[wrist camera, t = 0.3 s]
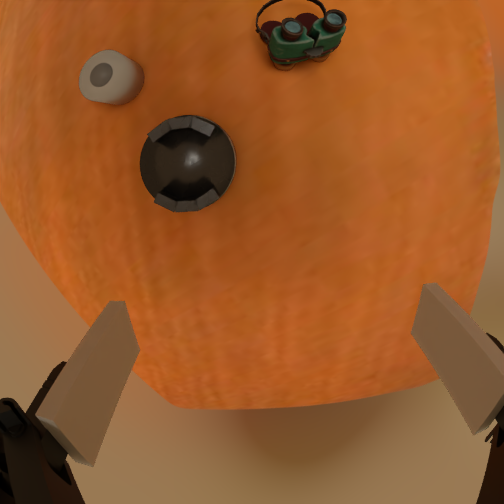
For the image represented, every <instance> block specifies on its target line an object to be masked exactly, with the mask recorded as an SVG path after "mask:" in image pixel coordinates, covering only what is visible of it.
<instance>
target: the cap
mask: <svg viewBox="0 0 504 504" xmlns="http://www.w3.org/2000/svg"><path fill="white" fill-rule="evenodd" d="M143 83H144V73H143V70H142V68H141V66H140V65H139V64H138V63H136V62H134V61H133V60H131V59H129V58H127V57H126V56H124V55H122V54H120V53H119V52H117V51H114V50H104V51H100V52H98V53H96V54H95V55H93V56H92V57H91V58H90V59H89V60H88V61H87V62H86V63H85V65H84V66H83V68H82V70H81V73H80V77H79V88H80V91H81V93H82V94H83V96H84V97H85V98H87V99H89V100H91V101H97V102H103V103H109V104H114V105H122V104H126V103H128V102H130V101H131V100H133V99H134V98H135V97H136V96H137V95H138V94H139V92H140V90H141V89H142V86H143Z"/></svg>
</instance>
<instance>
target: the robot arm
mask: <svg viewBox="0 0 504 504" xmlns="http://www.w3.org/2000/svg"><path fill="white" fill-rule="evenodd" d="M411 334H412V336H413V337H414V339H415V340H416V342H417V343H418V345H419V346H420V348H421V349H422V351H423V352H424V354H425V355H426V357H427V358H428V360H429V361H430V363H431V364H432V366H433V368H434V369H435V371H436V372H437V374H438V375H439V377H440V379H441V380H442V382H443V383H444V385H445V387H446V388H447V390H448V392H449V393H450V395H451V397H452V398H453V400H454V402H455V403H456V405H457V407H458V409H459V410H460V412H461V414H462V416H463V417H464V419H465V421H466V423H467V424H468V426H469V428H470V430H471V432H472V434H473V435H475V434H477V433H479V432H481V431H483V430H485V429H487V428H488V427H489V425H490V424H491V423H492V421H493V420H494V419H496V421H497V422H498V423H497V425H496V426H495V427H494V428H493V430H492V431H491V432H490V433H489V435H488V436H487V437H486V439H485V442H487V441H488V440H489V439H490V438H491V436H492V435H493V439H492V440H491V441H490V443H492V444H491V449H490V455H489V459H488V463H487V468H486V472H485V476H484V479H483V483H482V487H481V490H480V493H479V497H478V500H477V503H476V504H504V347H503V345H502V344H501V343H500V342H499V341H498V340H497V339H496V338H495V337H493V336H492V335H490V334H488V333H485V332H484V331H483V330H482V329H481V328H480V327H479V325H478V324H477V323H476V322H475V321H474V320H473V319H472V318H471V317H470V316H469V315H468V314H467V313H466V312H465V311H464V310H463V309H462V308H461V307H460V306H459V305H458V304H457V303H456V302H455V301H454V300H453V299H452V298H451V297H450V296H449V295H448V294H447V293H446V292H445V291H444V290H443V289H442V288H441V287H440V286H439V285H438V284H437V283H429V284H423V288H422V292H421V296H420V301H419V305H418V309H417V313H416V316H415V320H414V324H413V327H412V331H411ZM139 352H140V348H139V345H138V342H137V339H136V336H135V333H134V330H133V327H132V324H131V321H130V318H129V314H128V311H127V308H126V304H125V301H109V303H108V304H107V305H106V307H105V308H104V310H103V311H102V312H101V314H100V315H99V316H98V318H97V319H96V321H95V322H94V323H93V325H92V326H91V328H90V329H89V331H88V332H87V333H86V335H85V336H84V338H83V339H82V341H81V342H80V344H79V345H78V347H77V348H76V350H75V351H74V353H73V354H72V356H71V357H70V359H69V360H68V362H64V361H63V362H61V363H60V364H59V365H58V366H56V367H55V368H54V369H53V370H52V372H51V373H50V375H49V376H48V378H47V380H46V381H45V382H44V384H43V385H42V388H41V389H40V390H39V392H38V393H37V395H36V397H35V398H34V400H33V402H32V403H31V405H30V406H29V408H28V410H27V411H26V413H24V411H23V410H22V409H21V407H20V406H19V405H18V403H17V402H16V401H15V400H14V399H12V398H2V399H1V400H0V504H85V502H84V500H83V498H82V495H81V493H80V491H79V489H78V487H77V484H76V481H75V479H74V477H73V474H72V472H71V469H70V466H69V464H68V463H67V461H66V460H65V459H66V457H67V454H69V455H70V456H71V457H72V458H73V459H74V460H75V461H76V462H78V463H81V464H85V465H88V466H91V467H93V466H94V464H95V461H96V458H97V455H98V452H99V450H100V447H101V444H102V442H103V439H104V436H105V433H106V431H107V428H108V426H109V423H110V421H111V418H112V416H113V413H114V411H115V408H116V406H117V403H118V401H119V398H120V396H121V393H122V391H123V388H124V386H125V384H126V381H127V379H128V377H129V374H130V372H131V370H132V367H133V365H134V363H135V361H136V358H137V356H138V354H139Z"/></svg>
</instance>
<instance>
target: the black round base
mask: <svg viewBox="0 0 504 504" xmlns="http://www.w3.org/2000/svg"><path fill="white" fill-rule="evenodd" d="M147 135H148V136H149V137H148V138H147V140H146V142H145V144H144V146H143V149H142V152H141V156H140V171H141V176H142V179H143V182H144V184H145V186H146V188H147V190H148V191H149V193H150V194H151V195H152V196H153V197H154V198H155V200H154V203H156V204H158V205H160V206H162V207H165V208H167V209H169V210H171V211H173V212H174V211H175V212H188V211H198V210H201V209H202V208H204V207H207V206H209V205H211V204H212V203H214V202H215V201H217V200H218V199H219V198H220V197H221V196H222V195H223V194H224V193H225V192H226V191H227V189H228V187H229V186H230V184H231V182H232V180H233V177H234V174H235V169H236V151H235V148H234V145H233V142H232V140H231V139H230V137H229V135H228V134H227V133H226V132H225V131H224V130H223V129H222V128H221V127H220V126H219V125H217V124H216V123H215V122H213V121H211V120H209V119H207V118H204V117H200V116H195V115H183V116H178V117H175V118H172V119H168V120H165V121H164V122H162V123H161V124H160V125H158V126H157V127H156V128H155V129H153V130H152V131H151V132H149V133H148V134H147Z"/></svg>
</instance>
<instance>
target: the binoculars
mask: <svg viewBox="0 0 504 504" xmlns="http://www.w3.org/2000/svg"><path fill="white" fill-rule="evenodd" d="M279 1H282V0H271V1H269V2H268V3H266V4H265V5H263V7H262V8H261V9H260V11H259V12H258V13H257V18H256V27H257V29H256V30H255V31H256V32H257V33H259V34H260V36H261V38H262V39H263V40H264V41H265V42H266V43H267V44H268V53H269V55H270V58H271V60H272V61H273V62H274V65H275V66H276V67H277V68H278V69H279V70H282V71H288V70H290V69H292V68H293V67H294V65H295V63H296V62H301V61H304V60H307V59H308V58H309V59H312V60H314V61H316V62H323V61H325V60H326V59H327V58H328V56H329V54H330V53H331V52H332V51H334V50H335V49H336V48H337V47H338V46H339V44H340V42H341V38H342V36H343V34H344V32H345V29H346V26H345V23H346V20H347V18H346V15H345V14H344V13H343V12H342V11H340V10H336V9H332V10H329V11H327V12H326V9H325V7H324V5H323V4H322V3H321V2H320V1H318V0H308V1H311V2H313V3H315V4H317V5H318V6H320V8H321V10H322V11H323V13H324V18H321V19H319V18H318V17H317V16H315V15H314V14H311V13H302V14H300V15H298V16H297V17H296V18H295V19H294V18H285V19H284V20H283V21H282V23H280V22H278V21H268V22H265V23H264V24H263V25H262V27H261V29H260V28H259V26H258V24H257V22H258V17H259V16H260V15H261V13H262V12H263V10H264V9H266V8H267V7H269V6H270V5H272V4H274V3H276V2H279Z"/></svg>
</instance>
